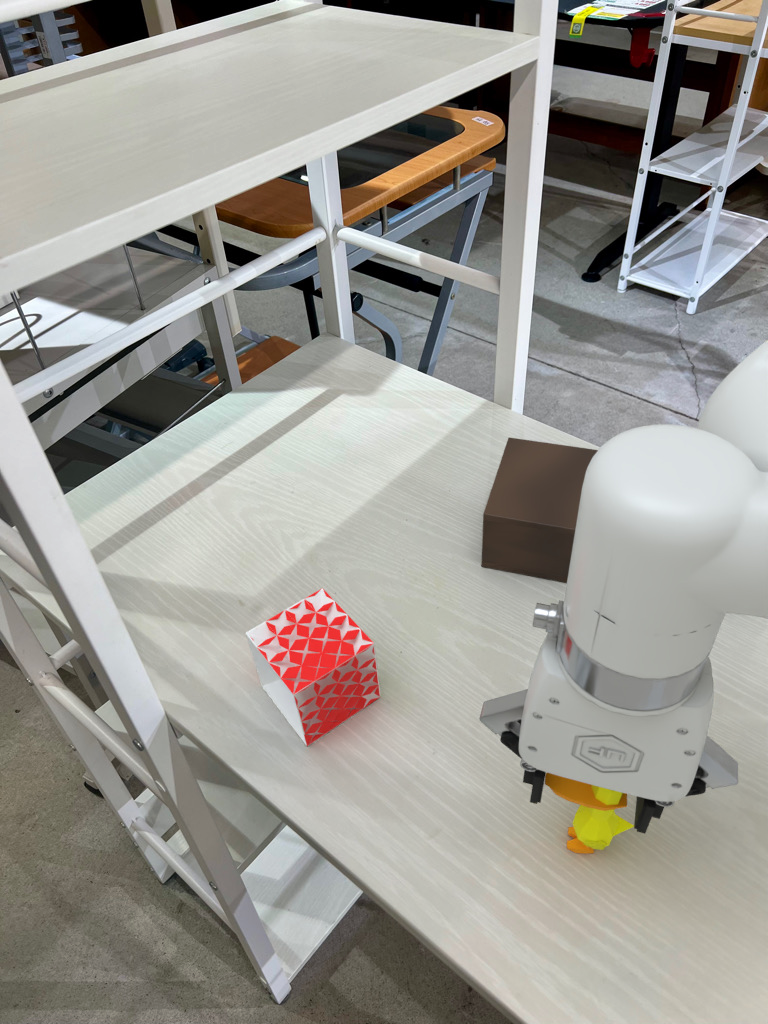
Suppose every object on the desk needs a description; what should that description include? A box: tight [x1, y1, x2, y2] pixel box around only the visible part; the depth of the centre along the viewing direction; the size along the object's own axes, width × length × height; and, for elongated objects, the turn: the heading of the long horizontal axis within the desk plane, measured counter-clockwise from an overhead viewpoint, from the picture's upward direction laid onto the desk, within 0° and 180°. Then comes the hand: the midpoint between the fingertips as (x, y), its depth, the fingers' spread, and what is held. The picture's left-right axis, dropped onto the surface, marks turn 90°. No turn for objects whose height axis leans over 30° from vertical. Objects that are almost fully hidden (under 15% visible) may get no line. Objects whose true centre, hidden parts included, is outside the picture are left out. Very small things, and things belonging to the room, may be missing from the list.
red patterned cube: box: [244, 587, 382, 747], centre depth 65 cm, size 8×8×8 cm
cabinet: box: [480, 436, 599, 584], centre depth 77 cm, size 15×13×8 cm
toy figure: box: [544, 772, 634, 855], centre depth 53 cm, size 7×4×12 cm, turn 76°
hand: (588, 796), depth 52 cm, fingers open, 6 cm apart
